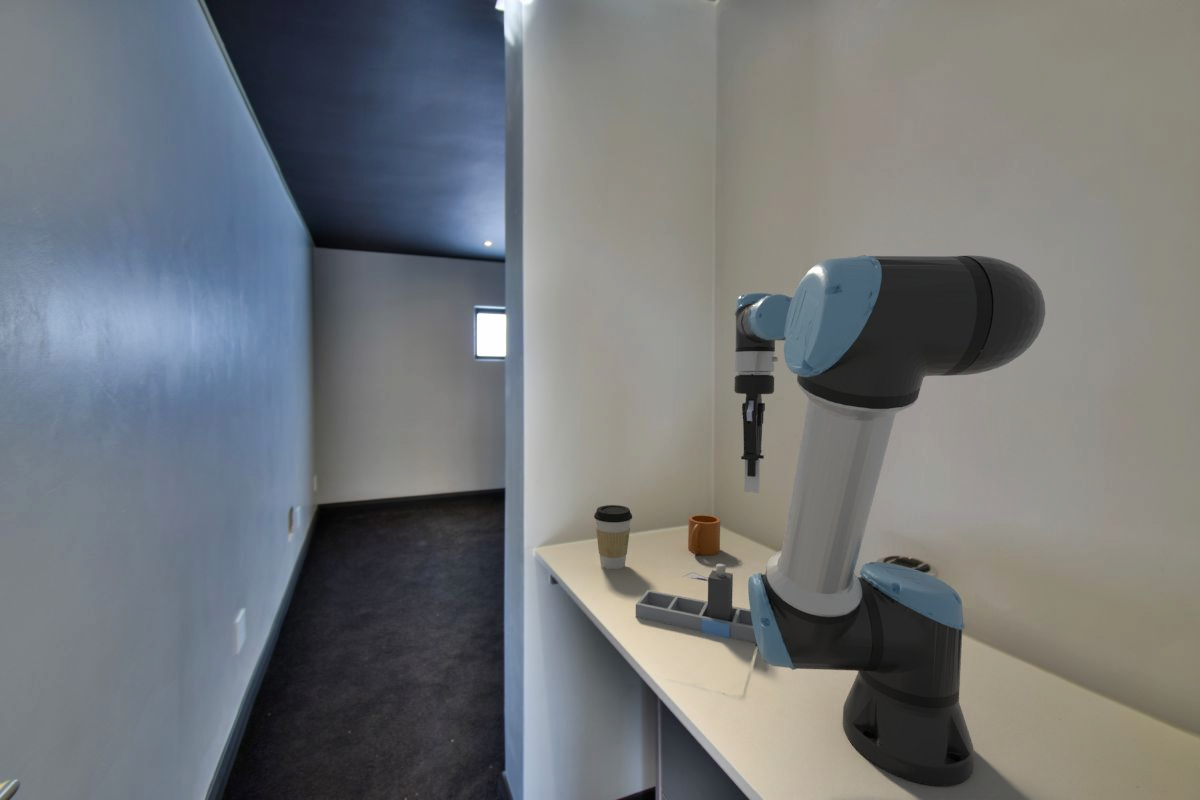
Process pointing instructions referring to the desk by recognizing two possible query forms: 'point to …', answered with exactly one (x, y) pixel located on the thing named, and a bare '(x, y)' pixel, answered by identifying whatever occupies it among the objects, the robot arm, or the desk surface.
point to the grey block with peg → (720, 594)
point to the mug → (704, 534)
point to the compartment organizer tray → (694, 615)
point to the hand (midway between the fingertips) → (751, 491)
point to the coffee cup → (613, 535)
